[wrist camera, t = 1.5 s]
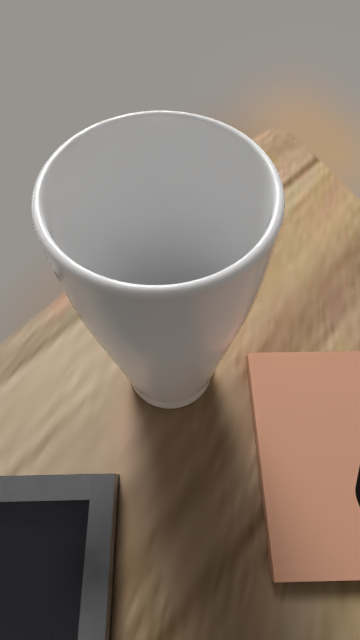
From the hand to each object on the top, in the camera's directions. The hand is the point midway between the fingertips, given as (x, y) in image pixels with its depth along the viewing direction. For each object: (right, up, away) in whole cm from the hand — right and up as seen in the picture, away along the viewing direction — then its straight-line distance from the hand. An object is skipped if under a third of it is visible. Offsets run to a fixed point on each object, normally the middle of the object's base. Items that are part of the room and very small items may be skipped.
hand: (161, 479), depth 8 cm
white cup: (0, 0, +15) cm, 15 cm away
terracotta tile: (+10, -4, +12) cm, 16 cm away
